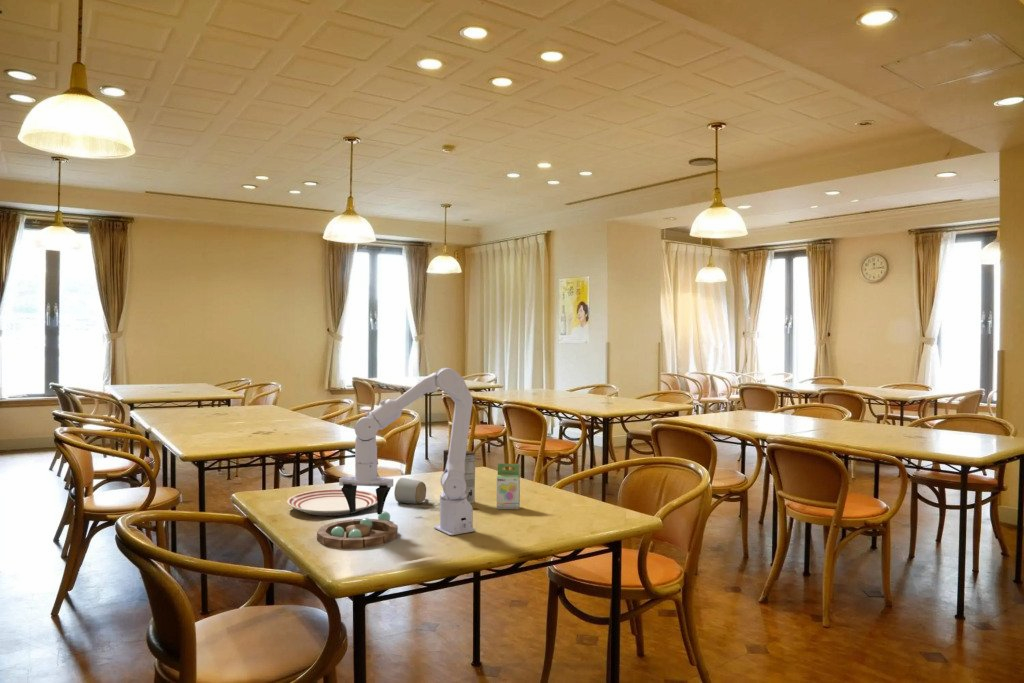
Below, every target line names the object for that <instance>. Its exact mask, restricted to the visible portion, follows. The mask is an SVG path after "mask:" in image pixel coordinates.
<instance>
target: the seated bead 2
mask: <svg viewBox="0 0 1024 683" xmlns="http://www.w3.org/2000/svg"><path fill="white" fill-rule="evenodd" d="M348 538H362V533H361V531H360V530H358V529H353V530H351V531H350V533H349V535H348Z"/></svg>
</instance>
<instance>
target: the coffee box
mask: <svg viewBox="0 0 1024 683" xmlns="http://www.w3.org/2000/svg"><path fill="white" fill-rule="evenodd" d="M448 453H449V449H445V450H443V470H442V471H443V473H444V471H445V468H446V463H447V460H448ZM443 473H442V474H443ZM464 479H465V482H466V491H465V493H466V498H467V501H468V502H469V503H470V504H474V503H475V500H476V499H475V497H476V496H475V494H476V452H474V451H470V450H466V456H465V474H464Z"/></svg>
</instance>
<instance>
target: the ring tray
mask: <svg viewBox="0 0 1024 683" xmlns="http://www.w3.org/2000/svg"><path fill="white" fill-rule="evenodd" d="M362 519H363V518H354V519H353V518H352V519H345V520H339V521H332V522H329V523H328V524H324V525H322V526H319V529H318V530H317V532H316V541H317V543H320V544H321V545H323V546H325V547H330V548H337V549H363V548H364V549H365V548H371V547H372V548H373V547H378V546H382V545H385V544H388V543H390V542H392V541H394V540H396V539H397V537H398V529H399V528H398V524H396V523H394V522H392V521H391V520H389V521H385V520H378V518H370V519H371V521H372V523H373V525H372V528H371V529H370V526H369V525H364V524H360V521H361V520H362ZM335 527H342V528H343V529H344V532H345V534H344V537H336V536H331V531H332V529H333V528H335ZM353 529H358V530H360V531H361V533H362V538H348V535H349V533H350V531H351V530H353Z"/></svg>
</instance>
